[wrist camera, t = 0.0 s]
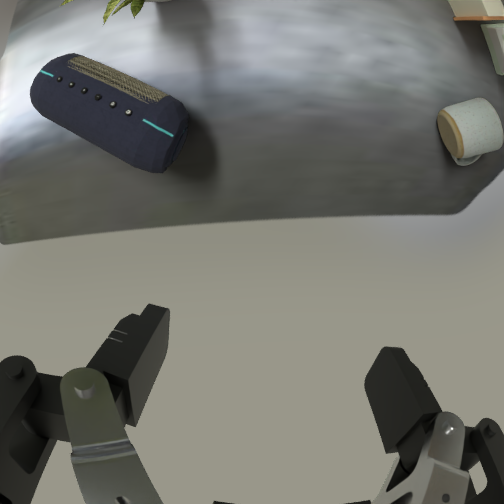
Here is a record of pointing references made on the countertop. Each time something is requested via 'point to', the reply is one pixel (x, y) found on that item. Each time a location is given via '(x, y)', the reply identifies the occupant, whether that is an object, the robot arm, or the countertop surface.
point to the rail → (495, 44)
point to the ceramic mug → (470, 130)
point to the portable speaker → (111, 111)
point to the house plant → (135, 6)
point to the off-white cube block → (477, 9)
